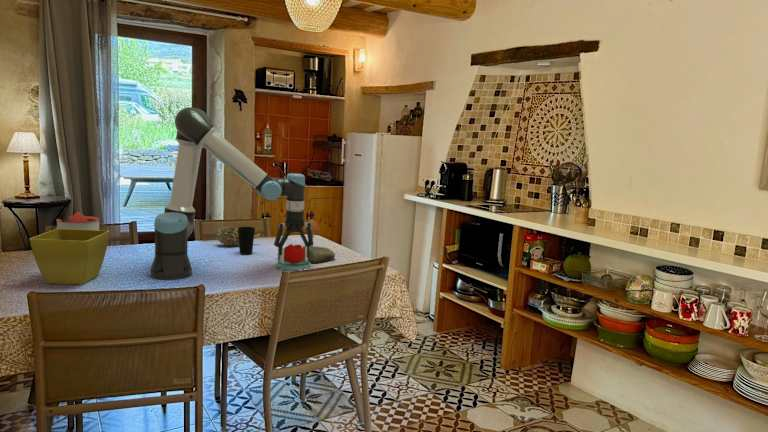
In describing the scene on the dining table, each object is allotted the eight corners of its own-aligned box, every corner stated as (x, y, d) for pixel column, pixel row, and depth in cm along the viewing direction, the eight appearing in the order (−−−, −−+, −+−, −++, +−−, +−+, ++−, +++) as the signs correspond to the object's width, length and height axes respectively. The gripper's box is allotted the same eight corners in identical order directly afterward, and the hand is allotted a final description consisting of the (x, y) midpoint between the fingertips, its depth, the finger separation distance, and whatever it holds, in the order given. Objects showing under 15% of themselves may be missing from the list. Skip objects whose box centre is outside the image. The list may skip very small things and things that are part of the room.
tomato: (302, 259, 232) (302, 243, 231) (305, 264, 224) (306, 247, 223) (280, 260, 229) (281, 243, 228) (283, 265, 221) (284, 247, 220)
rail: (278, 262, 232) (278, 254, 232) (277, 261, 233) (277, 254, 233) (297, 261, 237) (298, 253, 236) (296, 260, 238) (297, 252, 237)
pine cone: (218, 248, 252) (218, 228, 251) (213, 244, 260) (213, 225, 259) (263, 246, 263) (263, 226, 262) (257, 242, 271) (258, 223, 270)
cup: (249, 256, 241) (250, 230, 240) (234, 254, 243) (234, 228, 241) (257, 252, 249) (257, 227, 247) (242, 251, 250) (242, 226, 249)
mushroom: (322, 248, 265) (323, 219, 263) (312, 251, 258) (313, 221, 256) (310, 246, 269) (311, 217, 267) (299, 248, 262) (300, 218, 260)
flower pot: (87, 288, 182) (86, 240, 180) (29, 286, 181) (27, 238, 178) (111, 273, 201) (110, 230, 199) (59, 272, 199) (57, 228, 197)
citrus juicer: (74, 253, 229) (72, 207, 226) (109, 257, 226) (108, 210, 223) (44, 260, 214) (42, 212, 211) (81, 265, 211) (80, 215, 208)
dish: (282, 271, 217) (282, 268, 217) (272, 263, 230) (272, 260, 230) (315, 269, 224) (315, 265, 224) (303, 261, 237) (303, 258, 237)
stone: (298, 258, 237) (306, 238, 239) (319, 269, 246) (327, 249, 249) (310, 260, 231) (318, 239, 234) (332, 271, 240) (339, 251, 243)
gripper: (272, 212, 215) (270, 265, 218) (322, 211, 226) (320, 262, 229) (266, 209, 221) (265, 261, 225) (316, 208, 232) (314, 258, 235)
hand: (293, 261), depth 227 cm, fingers closed on tomato, 9 cm apart
